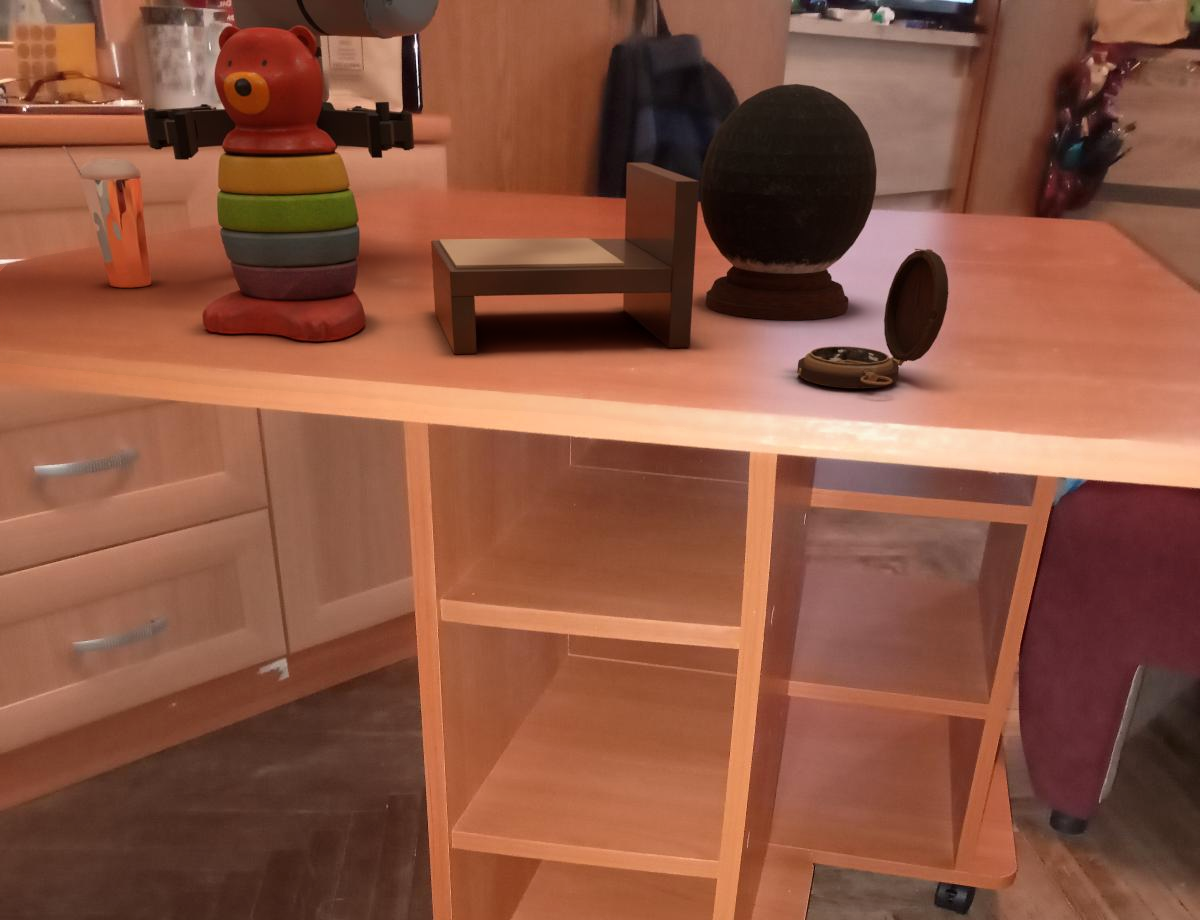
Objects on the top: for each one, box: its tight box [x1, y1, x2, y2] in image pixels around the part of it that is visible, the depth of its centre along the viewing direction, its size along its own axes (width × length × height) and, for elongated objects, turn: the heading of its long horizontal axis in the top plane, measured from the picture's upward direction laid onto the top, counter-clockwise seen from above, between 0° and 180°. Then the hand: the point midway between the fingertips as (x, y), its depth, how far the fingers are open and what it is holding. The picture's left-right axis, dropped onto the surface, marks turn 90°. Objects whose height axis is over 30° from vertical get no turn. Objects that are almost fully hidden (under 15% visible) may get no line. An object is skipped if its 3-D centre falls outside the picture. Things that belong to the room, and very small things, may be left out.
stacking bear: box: [202, 25, 366, 342], centre depth 77 cm, size 11×10×18 cm
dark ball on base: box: [699, 83, 878, 321], centre depth 87 cm, size 13×13×15 cm
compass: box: [796, 248, 949, 390], centre depth 68 cm, size 8×8×7 cm
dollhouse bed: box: [430, 162, 700, 355], centre depth 79 cm, size 16×14×10 cm
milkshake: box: [62, 145, 152, 289], centre depth 92 cm, size 4×5×10 cm
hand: (280, 136), depth 83 cm, fingers open, 13 cm apart
